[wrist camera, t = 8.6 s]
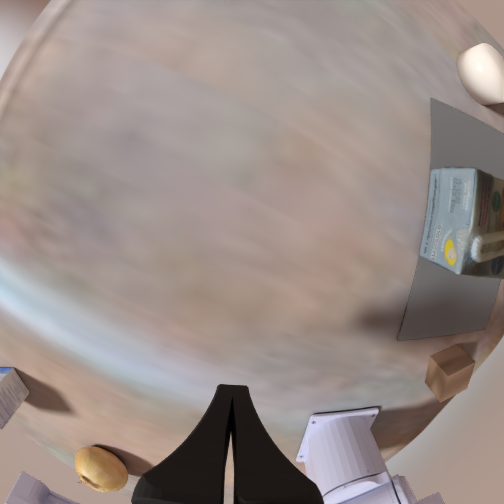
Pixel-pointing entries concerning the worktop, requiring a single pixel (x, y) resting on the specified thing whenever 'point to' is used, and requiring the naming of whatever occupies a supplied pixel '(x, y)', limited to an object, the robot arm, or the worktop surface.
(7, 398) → the medicine box
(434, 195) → the beverage carton
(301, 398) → the worktop surface
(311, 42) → the worktop surface
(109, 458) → the onion
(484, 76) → the cream egg shape
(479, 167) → the mat
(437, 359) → the walnut block
